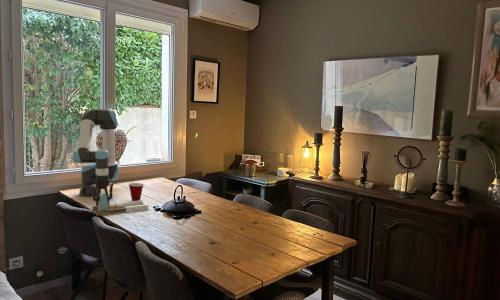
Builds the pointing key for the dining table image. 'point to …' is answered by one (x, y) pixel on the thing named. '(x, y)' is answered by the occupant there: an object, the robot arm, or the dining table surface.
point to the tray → (135, 206)
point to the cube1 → (111, 206)
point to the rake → (103, 201)
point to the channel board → (108, 211)
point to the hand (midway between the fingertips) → (102, 210)
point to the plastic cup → (136, 191)
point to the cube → (119, 206)
